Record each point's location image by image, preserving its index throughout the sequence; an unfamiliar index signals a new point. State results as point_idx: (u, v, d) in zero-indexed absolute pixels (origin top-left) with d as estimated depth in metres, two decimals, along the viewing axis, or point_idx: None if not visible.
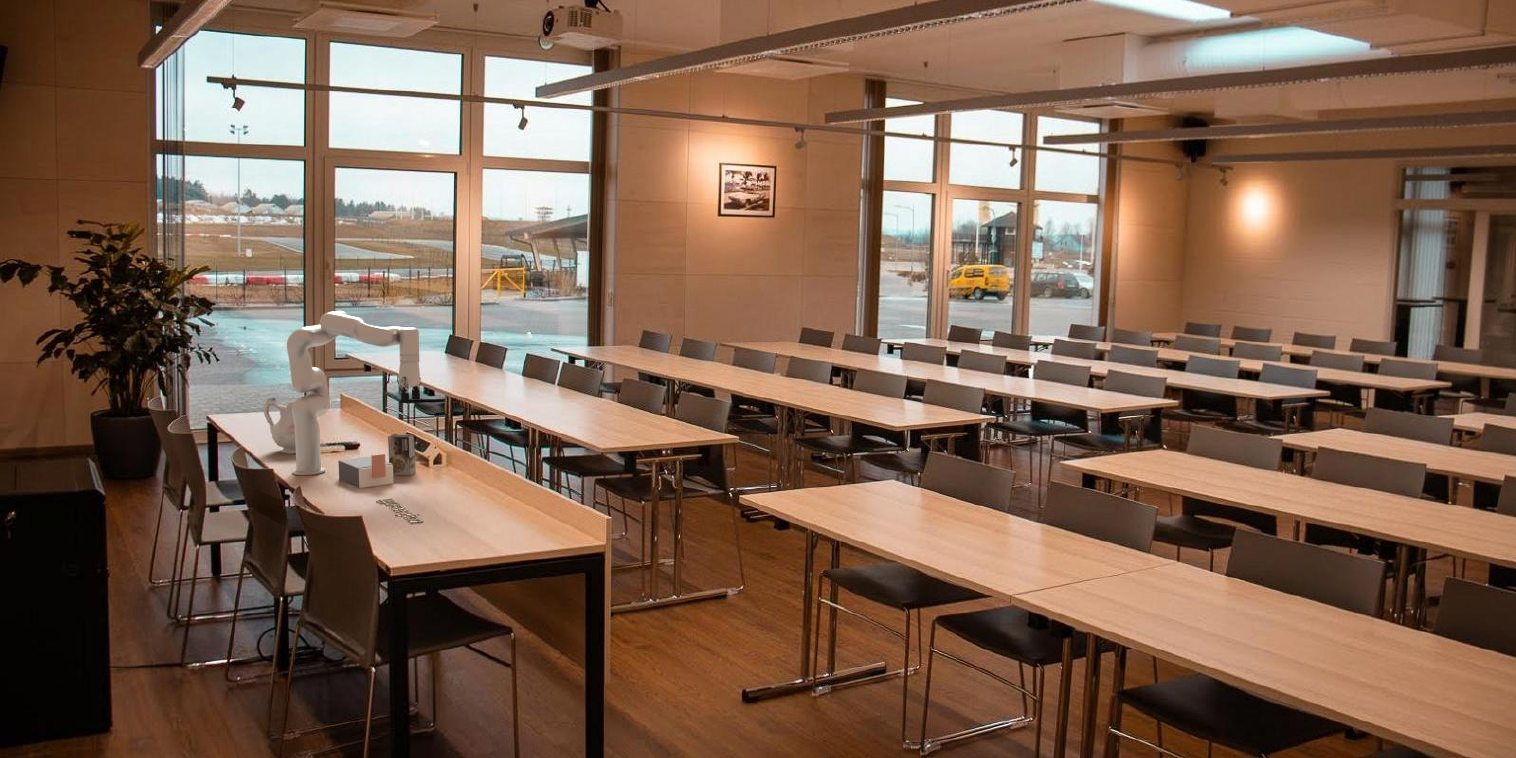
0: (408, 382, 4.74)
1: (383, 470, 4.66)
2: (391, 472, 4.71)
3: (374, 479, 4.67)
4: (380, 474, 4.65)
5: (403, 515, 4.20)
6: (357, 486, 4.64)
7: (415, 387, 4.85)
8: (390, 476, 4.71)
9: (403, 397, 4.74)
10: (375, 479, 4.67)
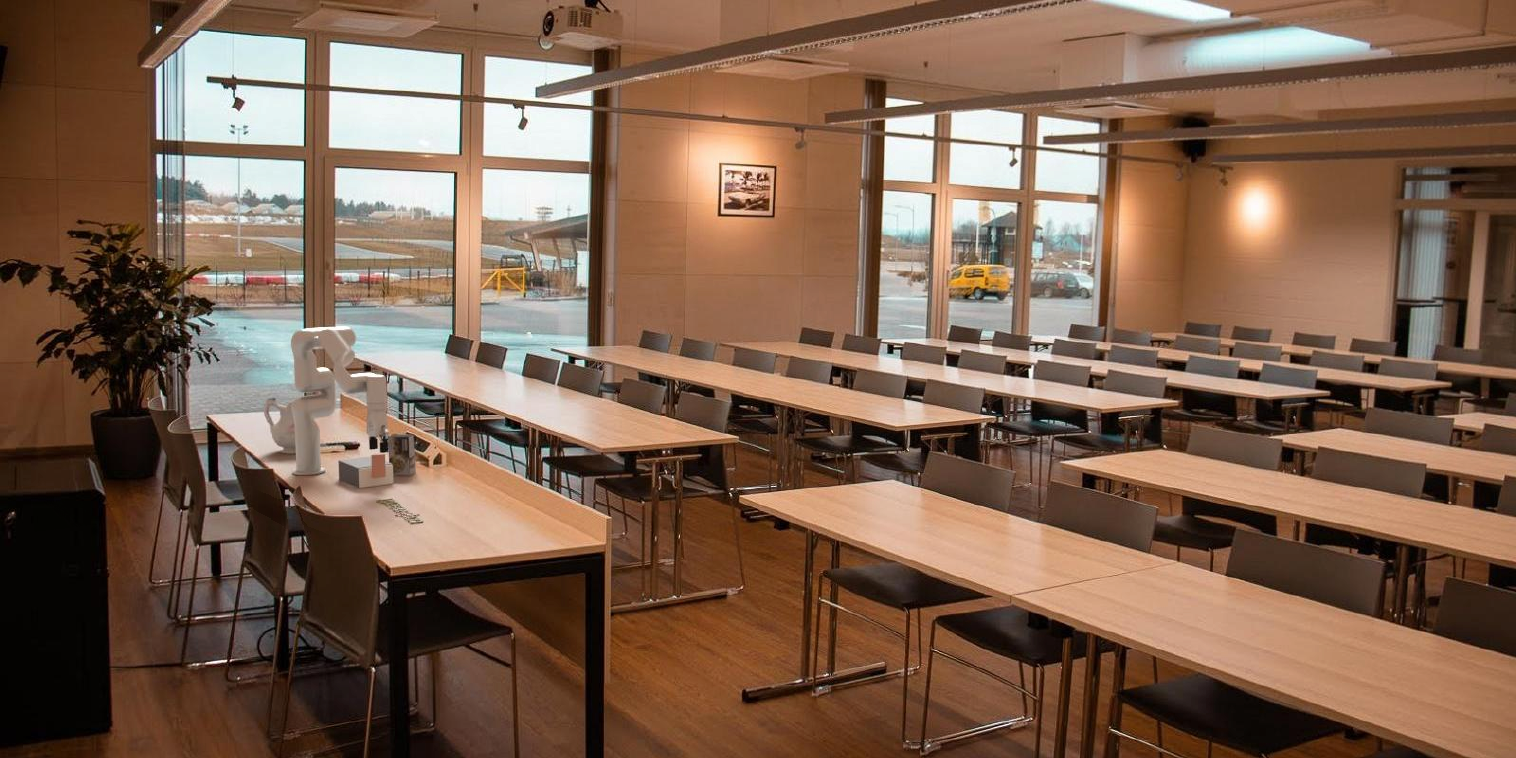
0: None
1: (383, 470, 4.66)
2: (391, 472, 4.71)
3: (374, 479, 4.67)
4: (380, 474, 4.65)
5: (403, 515, 4.20)
6: (357, 486, 4.64)
7: (372, 436, 4.67)
8: (390, 476, 4.71)
9: (384, 447, 4.59)
10: (375, 479, 4.67)
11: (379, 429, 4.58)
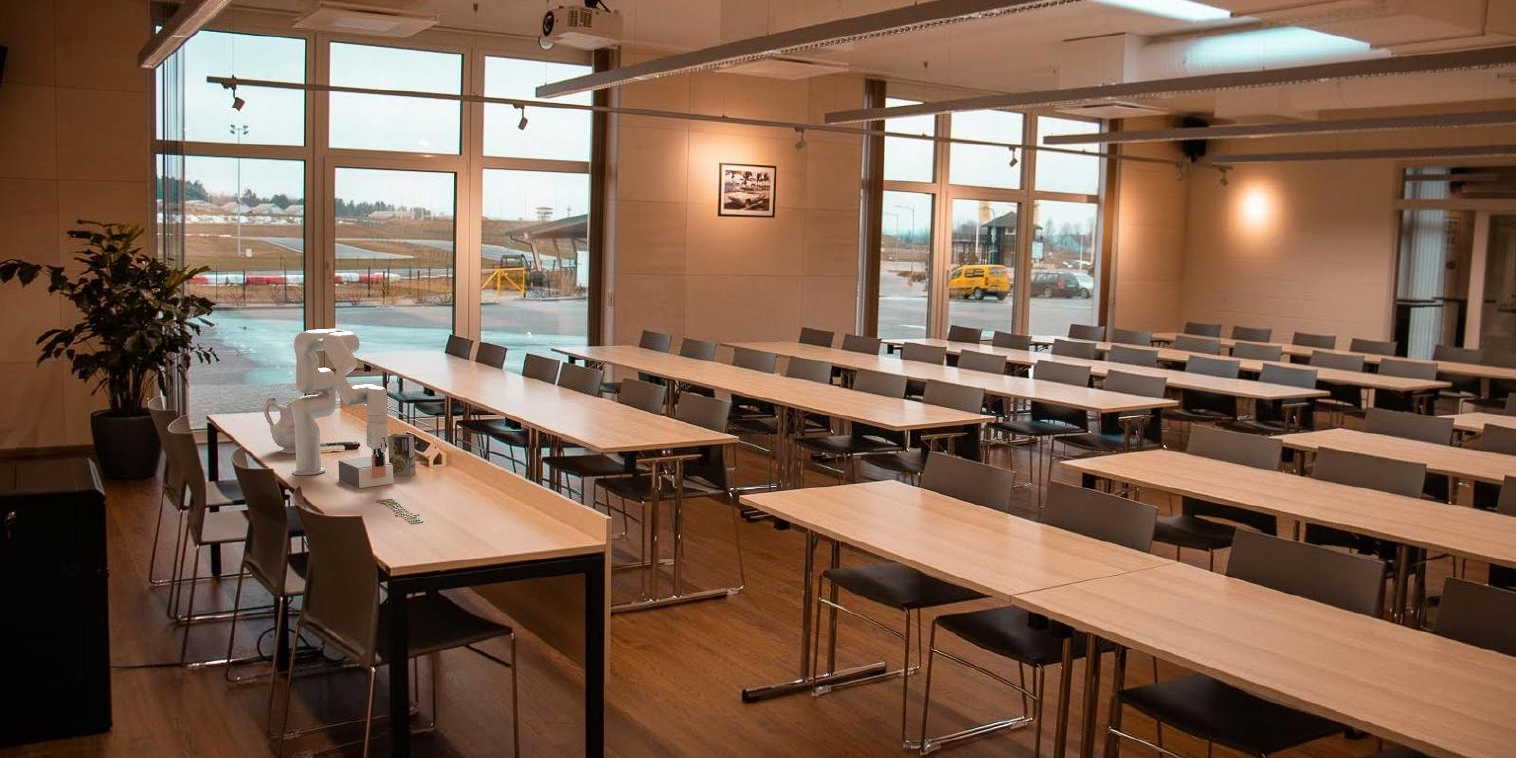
0: (387, 443, 4.61)
1: (383, 470, 4.66)
2: (391, 472, 4.71)
3: (374, 479, 4.67)
4: (380, 474, 4.65)
5: (403, 515, 4.20)
6: (357, 486, 4.64)
7: (376, 452, 4.65)
8: (390, 476, 4.71)
9: (379, 460, 4.63)
10: (375, 479, 4.67)
11: (379, 441, 4.59)
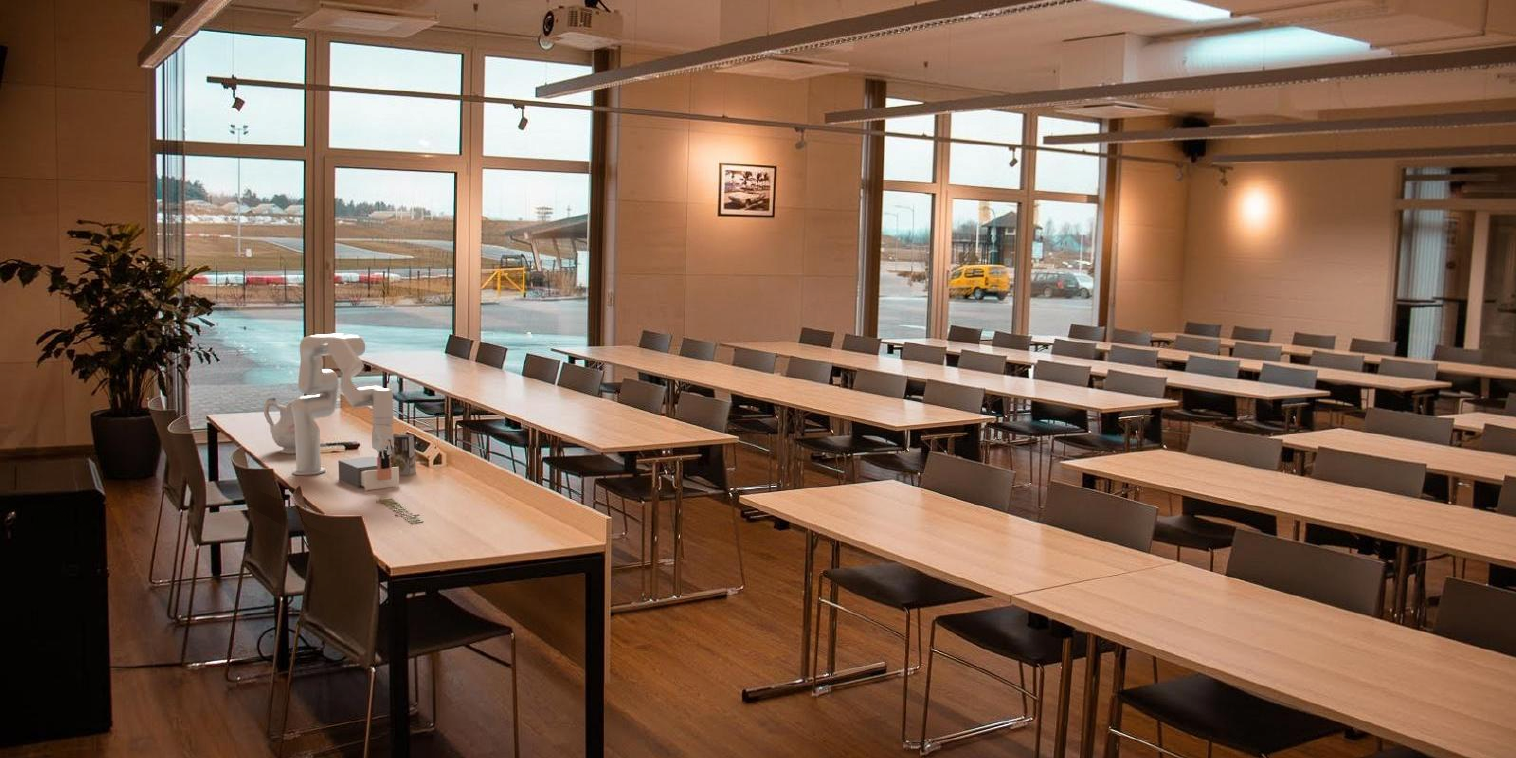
0: (393, 445, 4.57)
1: (389, 472, 4.62)
2: (397, 474, 4.67)
3: (380, 481, 4.63)
4: (386, 476, 4.61)
5: (403, 515, 4.20)
6: (357, 486, 4.64)
7: (382, 454, 4.61)
8: (396, 478, 4.67)
9: (385, 463, 4.59)
10: (381, 481, 4.63)
11: (385, 443, 4.55)
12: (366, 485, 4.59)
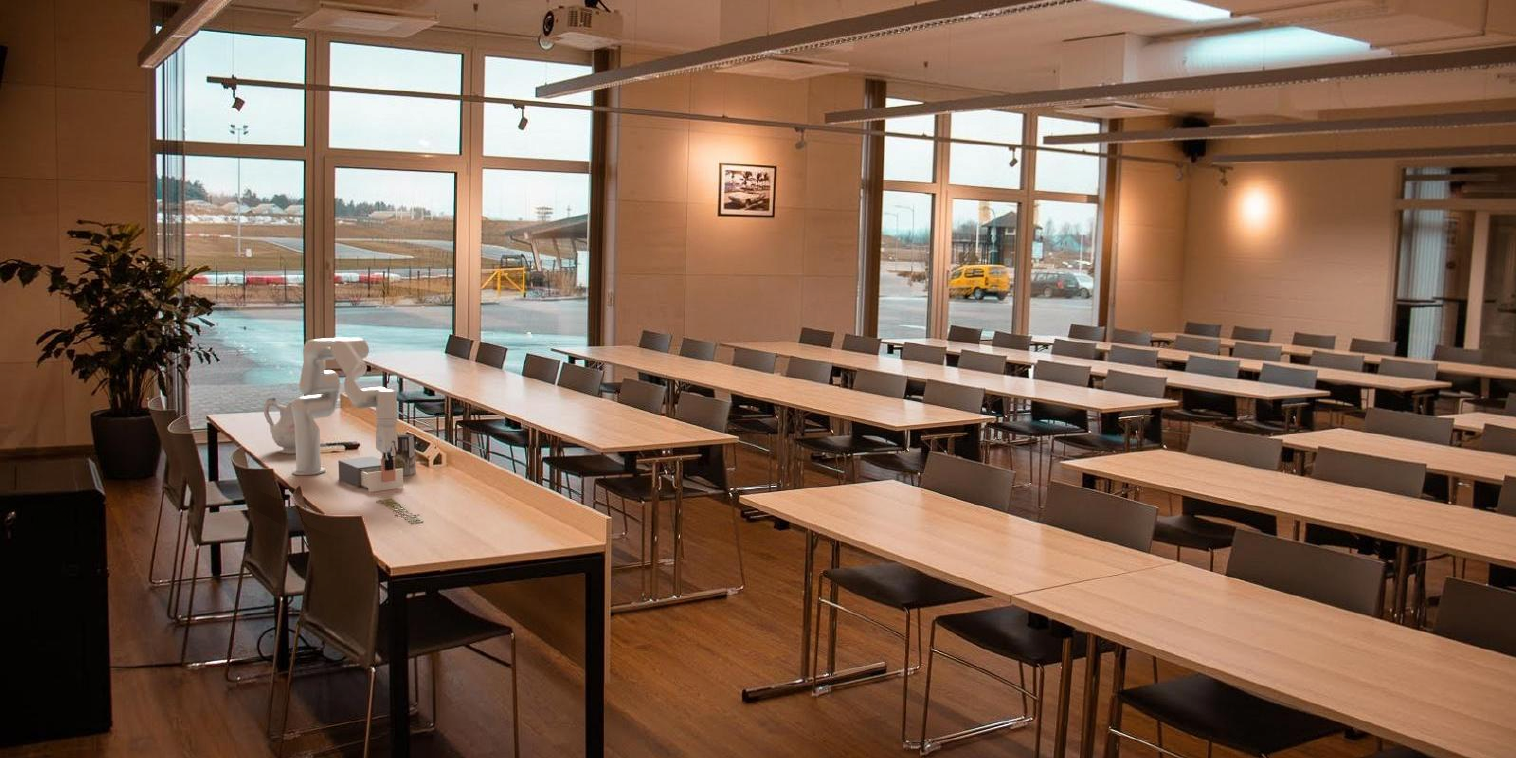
0: (397, 446, 4.54)
1: (393, 474, 4.59)
2: (401, 476, 4.64)
3: (383, 483, 4.60)
4: (390, 478, 4.58)
5: (403, 515, 4.20)
6: (357, 486, 4.64)
7: (386, 455, 4.58)
8: (400, 480, 4.64)
9: (389, 464, 4.56)
10: (385, 483, 4.60)
11: (389, 445, 4.52)
12: (370, 487, 4.56)
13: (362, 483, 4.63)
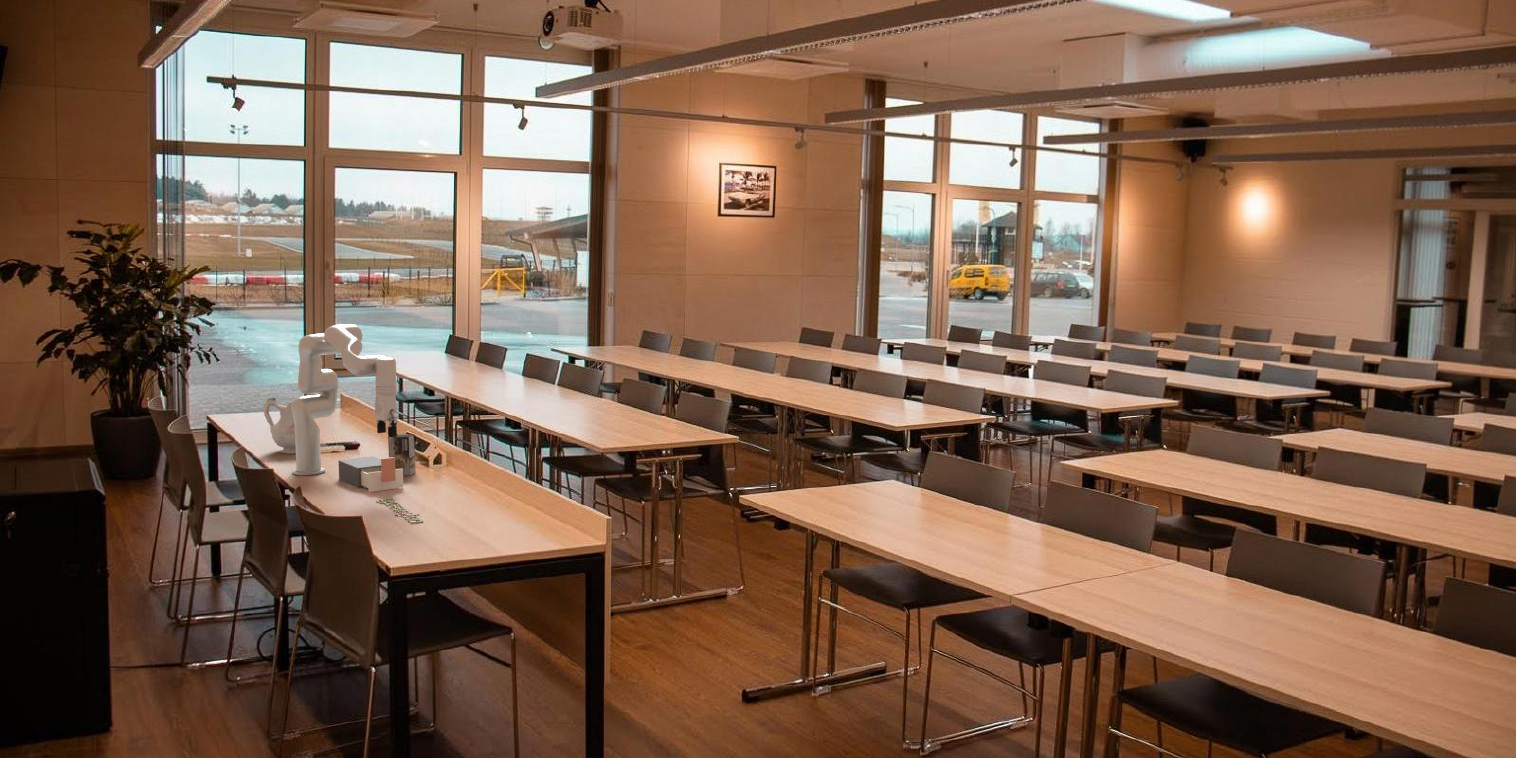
0: None
1: (393, 474, 4.59)
2: (401, 476, 4.64)
3: (384, 483, 4.60)
4: (390, 478, 4.58)
5: (403, 515, 4.20)
6: (357, 486, 4.64)
7: (380, 420, 4.59)
8: (400, 480, 4.64)
9: (392, 431, 4.52)
10: (385, 483, 4.60)
11: (388, 413, 4.50)
12: (370, 487, 4.56)
13: (362, 483, 4.63)
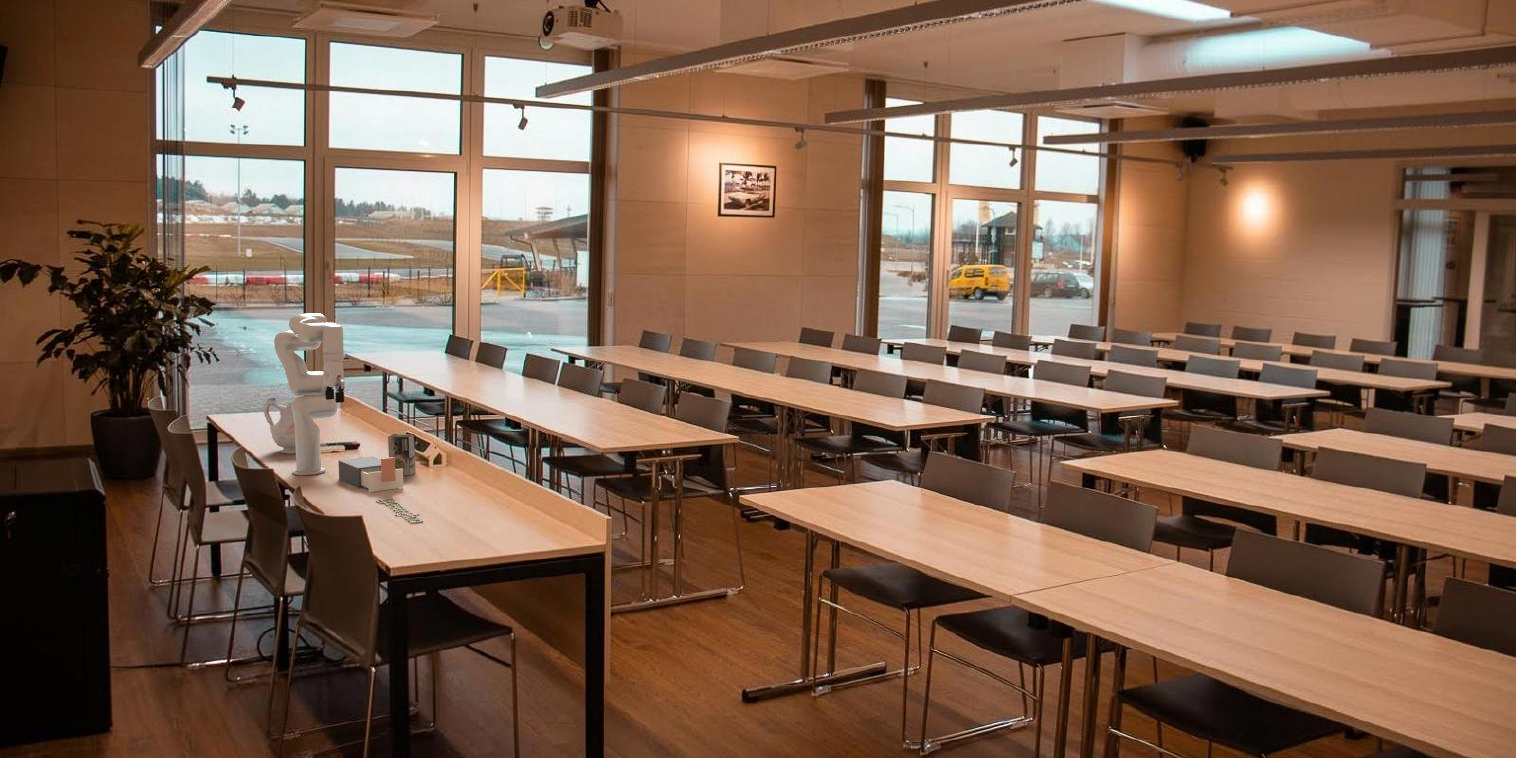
0: None
1: (393, 474, 4.59)
2: (401, 476, 4.64)
3: (384, 483, 4.60)
4: (390, 478, 4.58)
5: (403, 515, 4.20)
6: (357, 486, 4.64)
7: (329, 387, 4.68)
8: (400, 480, 4.64)
9: (340, 396, 4.60)
10: (385, 483, 4.60)
11: (335, 379, 4.59)
12: (370, 487, 4.56)
13: (362, 483, 4.63)
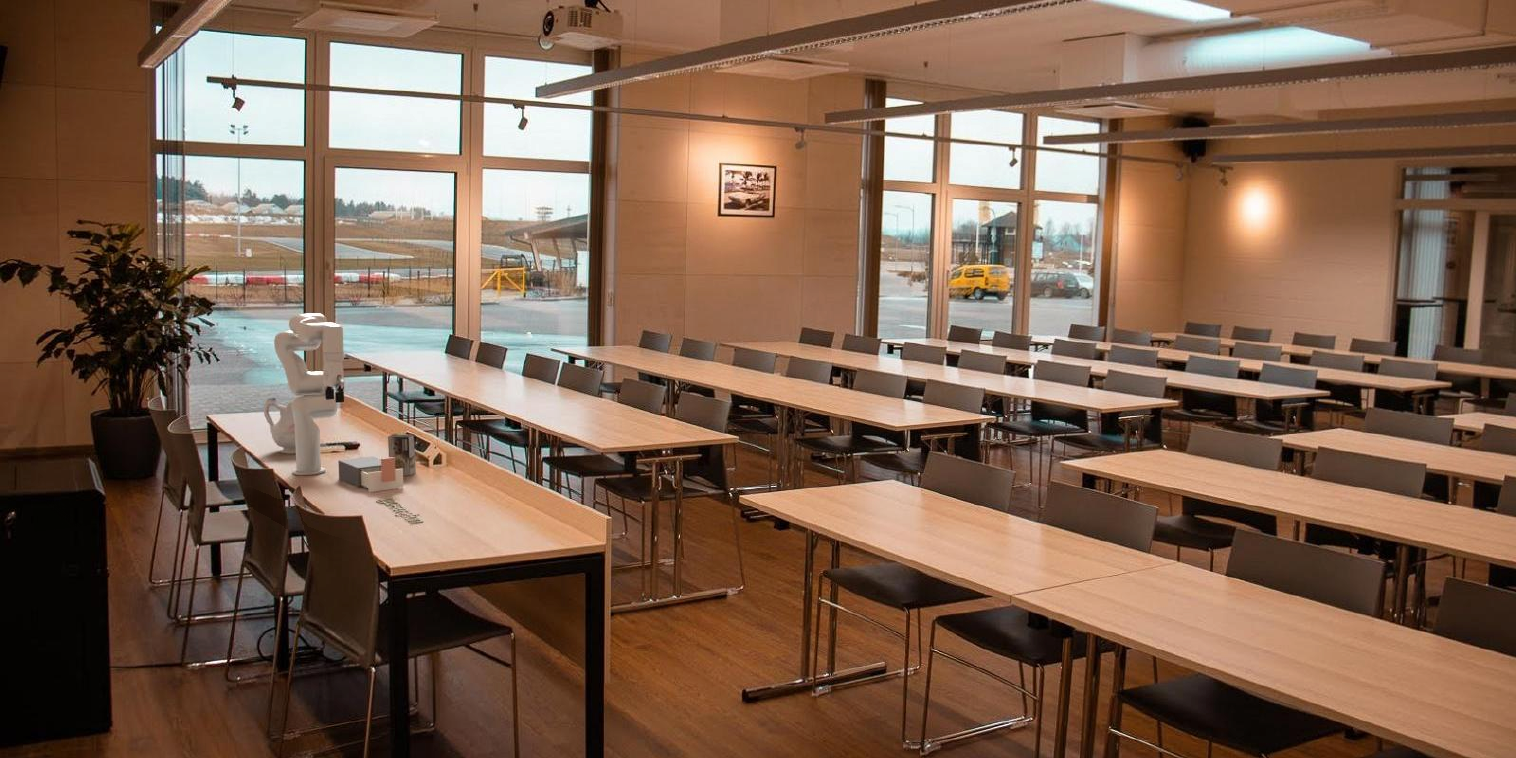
0: None
1: (393, 474, 4.59)
2: (401, 476, 4.64)
3: (384, 483, 4.60)
4: (390, 478, 4.58)
5: (403, 515, 4.20)
6: (357, 486, 4.64)
7: (329, 387, 4.68)
8: (400, 480, 4.64)
9: (340, 396, 4.60)
10: (385, 483, 4.60)
11: (335, 379, 4.59)
12: (370, 487, 4.56)
13: (362, 483, 4.63)
